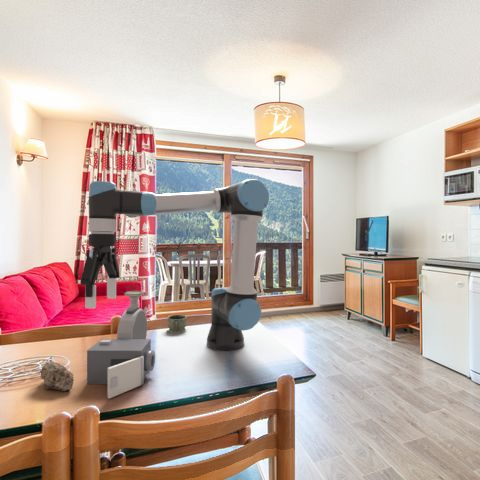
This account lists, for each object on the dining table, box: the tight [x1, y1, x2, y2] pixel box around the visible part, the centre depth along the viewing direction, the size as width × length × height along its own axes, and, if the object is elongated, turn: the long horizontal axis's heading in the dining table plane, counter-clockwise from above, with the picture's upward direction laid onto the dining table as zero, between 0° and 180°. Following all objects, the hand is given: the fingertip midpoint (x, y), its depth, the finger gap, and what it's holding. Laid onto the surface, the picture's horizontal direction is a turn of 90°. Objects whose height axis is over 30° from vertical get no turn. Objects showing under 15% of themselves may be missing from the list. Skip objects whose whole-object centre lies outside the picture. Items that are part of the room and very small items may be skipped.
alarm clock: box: [116, 306, 148, 339], centre depth 111 cm, size 16×10×18 cm, turn 178°
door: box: [107, 356, 145, 399], centre depth 87 cm, size 11×2×8 cm, turn 141°
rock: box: [39, 360, 75, 392], centre depth 90 cm, size 7×11×10 cm
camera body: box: [86, 338, 156, 385], centre depth 96 cm, size 18×10×11 cm, turn 91°
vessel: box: [166, 314, 188, 334], centre depth 144 cm, size 12×9×6 cm
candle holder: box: [124, 290, 145, 307], centre depth 128 cm, size 9×9×20 cm
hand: (101, 303), depth 94 cm, fingers open, 13 cm apart
